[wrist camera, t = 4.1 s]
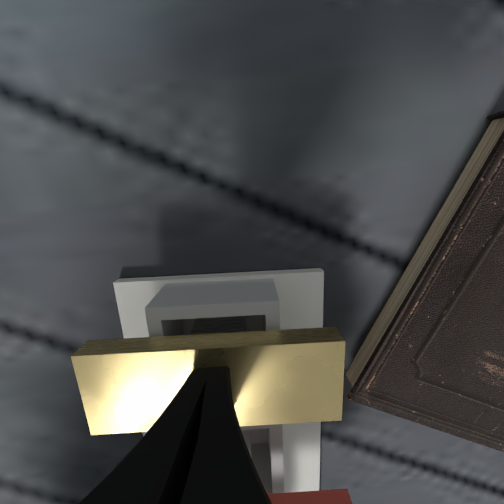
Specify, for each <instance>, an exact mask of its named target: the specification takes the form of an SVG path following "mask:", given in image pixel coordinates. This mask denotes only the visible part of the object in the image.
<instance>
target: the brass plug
mask: <svg viewBox="0 0 504 504" xmlns="http://www.w3.org/2000/svg"><path fill="white" fill-rule="evenodd" d="M71 359H72V363H73V367H74V371H75V375H76V379H77V382H78V386H79V390H80V394H81V398H82V402H83V406H84V410H85V413H86V417H87V421H88V425H89V429H90V433H91V435H102V434H119V433H136V432H147V431H148V430H149V429H150V428H151V426H152V425H153V424H154V423H155V422H156V420H157V419H158V418H159V417H160V415H161V414H162V413H163V411H164V410H165V409H166V407H167V406H168V405H169V403H170V402H171V401H172V399H173V398H174V397H175V395H176V394H177V392H178V391H179V390H180V388H181V387H182V385H183V384H184V382H185V381H186V379H187V378H188V376H189V375H190V373H191V372H192V371H193V370H194V368H205V367H222V366H227V367H228V368H229V369H230V377H231V389H232V399H233V403H234V407H235V411H236V415H237V418H238V422H239V425H240V426H256V425H274V424H291V423H308V422H325V421H342V404H343V382H344V361H345V340H344V338H343V337H342V335H341V334H340V332H339V331H338V329H337V327H322V328H303V329H285V330H267V331H249V332H245V322H244V316H232V317H214V318H196V320H195V322H194V325H193V327H192V330H191V332H190V335H176V336H158V337H140V338H122V339H104V340H88V341H87V342H86V343H84V344H83V345H82V346H81V347H80V348H79V349H78V350H77V351H76V352H75V353H74V354H73V355H72V356H71Z"/></svg>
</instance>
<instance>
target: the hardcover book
mask: <svg viewBox="0 0 504 504" xmlns="http://www.w3.org/2000/svg"><path fill="white" fill-rule="evenodd" d="M486 119H488V120H490V121H492V122H491V123H490V125H489V127H488V129H487V130H486V132H485V134H484V135H483V137H482V139H481V141H480V142H479V144H478V146H477V148H476V149H475V151H474V153H473V154H472V156H471V158H470V160H469V161H468V163H467V165H466V166H465V168H464V170H463V172H462V173H461V175H460V177H459V179H458V180H457V182H456V184H455V185H454V187H453V189H452V191H451V192H450V194H449V196H448V197H447V199H446V201H445V203H444V204H443V206H442V208H441V210H440V211H439V213H438V215H437V216H436V218H435V220H434V222H433V223H432V225H431V227H430V229H429V230H428V232H427V234H426V235H425V237H424V239H423V241H422V242H421V244H420V246H419V247H418V249H417V251H416V253H415V254H414V256H413V258H412V260H411V261H410V263H409V265H408V266H407V268H406V270H405V272H404V273H403V275H402V277H401V279H400V280H399V282H398V284H397V285H396V287H395V289H394V291H393V292H392V294H391V296H390V297H389V299H388V301H387V303H386V304H385V306H384V308H383V310H382V311H381V313H380V315H379V316H378V318H377V320H376V322H375V323H374V325H373V327H372V328H371V330H370V332H369V334H368V335H367V337H366V339H365V341H364V342H363V344H362V346H361V348H360V349H359V351H358V353H357V354H356V356H355V358H354V360H353V361H352V363H351V365H350V367H349V368H348V370H347V372H346V377H347V378H348V380H349V382H350V383H351V385H352V389H351V391H350V393H349V394H348V399H349V400H351V401H354V402H357V403H360V404H363V405H366V406H369V407H371V408H374V409H377V410H380V411H383V412H386V413H389V414H392V415H395V416H398V417H401V418H404V419H407V420H410V421H413V422H416V423H419V424H422V425H425V426H428V427H431V428H434V429H437V430H440V431H443V432H445V433H448V434H451V435H454V436H457V437H460V438H463V439H466V440H469V441H472V442H475V443H478V444H481V445H484V446H487V447H490V448H493V449H496V450H499V451H502V452H504V111H501V112H498V113H496V114H493V115H490V116H488V117H487V118H486Z"/></svg>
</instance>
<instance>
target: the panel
mask: <svg viewBox="0 0 504 504" xmlns="http://www.w3.org/2000/svg"><path fill="white" fill-rule="evenodd" d="M113 285H114V290H115V295H116V300H117V305H118V310H119V316H120V321H121V326H122V331H123V336H124V338H140V337H158V336H176V335H190V332H191V330H192V327H193V325H194V322H195V320H196V318H214V317H232V316H244V322H245V332H249V331H267V330H285V329H303V328H322V327H323V296H324V271H323V270H322V269H321V268H311V269H292V270H273V271H254V272H236V273H217V274H198V275H179V276H160V277H141V278H123V279H118V280H116V281H115V282H113ZM240 428H241V431H242V434H243V435H246V434H250V441H251V457H252V461H253V463H254V466H255V468H256V470H257V472H258V475H259V477H260V479H261V482H262V484H263V486H264V488H265V490H266V492H267V494H271V493H288V492H304V491H319V480H320V434H321V422H308V423H291V424H274V425H256V426H240ZM146 433H147V432H142V434H143V436H144V435H145V434H146Z"/></svg>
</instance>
